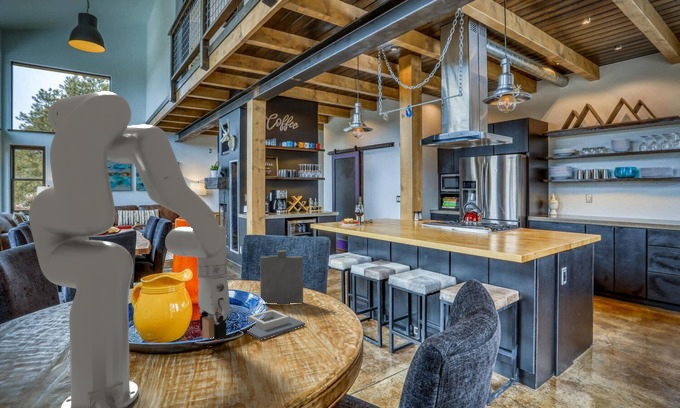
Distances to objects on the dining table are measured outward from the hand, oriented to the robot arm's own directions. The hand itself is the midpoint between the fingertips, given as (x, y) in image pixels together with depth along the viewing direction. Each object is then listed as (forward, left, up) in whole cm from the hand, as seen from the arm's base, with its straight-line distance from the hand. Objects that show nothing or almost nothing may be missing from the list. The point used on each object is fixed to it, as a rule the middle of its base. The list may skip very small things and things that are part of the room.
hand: (212, 332), depth 98 cm
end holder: (0, -18, -3) cm, 18 cm away
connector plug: (0, 0, -3) cm, 3 cm away
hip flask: (+16, -34, -3) cm, 38 cm away
